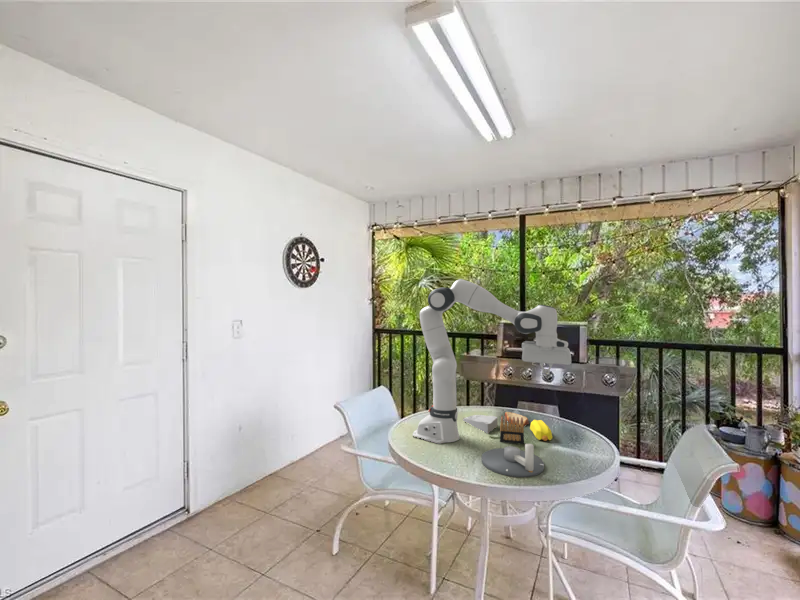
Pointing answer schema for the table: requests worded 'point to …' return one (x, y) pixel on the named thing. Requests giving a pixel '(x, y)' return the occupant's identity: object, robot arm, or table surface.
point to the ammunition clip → (511, 431)
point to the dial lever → (514, 456)
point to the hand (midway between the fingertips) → (546, 373)
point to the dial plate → (509, 464)
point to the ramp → (482, 422)
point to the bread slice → (525, 419)
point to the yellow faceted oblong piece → (541, 430)
